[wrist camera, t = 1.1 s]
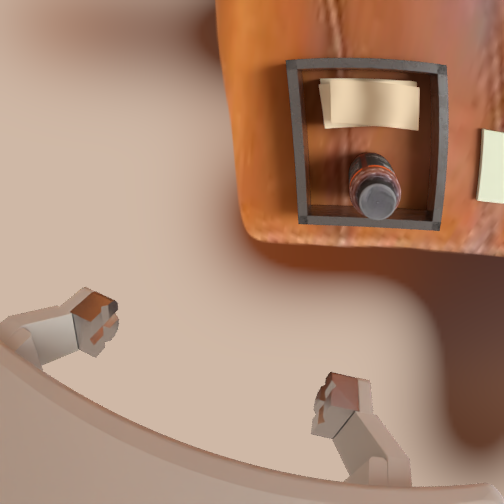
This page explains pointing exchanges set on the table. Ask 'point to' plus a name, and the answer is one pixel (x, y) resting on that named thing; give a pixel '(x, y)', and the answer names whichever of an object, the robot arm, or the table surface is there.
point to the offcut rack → (438, 158)
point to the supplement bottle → (373, 186)
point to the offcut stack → (369, 103)
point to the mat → (491, 167)
